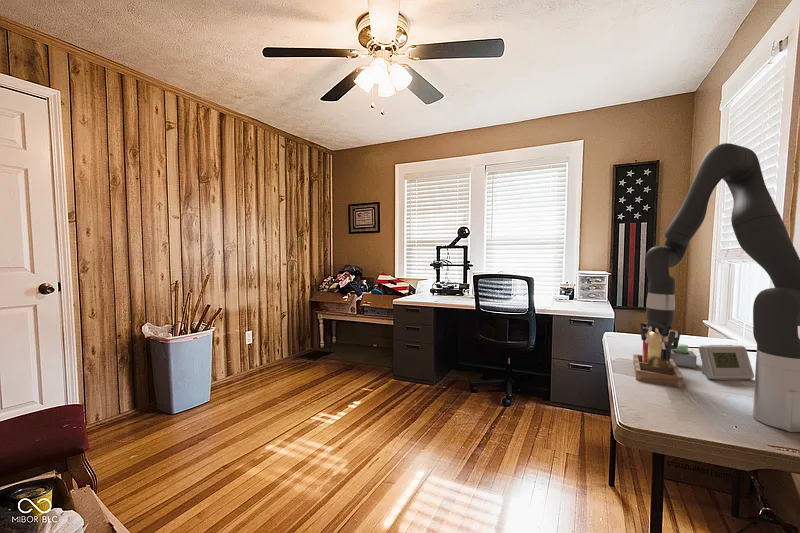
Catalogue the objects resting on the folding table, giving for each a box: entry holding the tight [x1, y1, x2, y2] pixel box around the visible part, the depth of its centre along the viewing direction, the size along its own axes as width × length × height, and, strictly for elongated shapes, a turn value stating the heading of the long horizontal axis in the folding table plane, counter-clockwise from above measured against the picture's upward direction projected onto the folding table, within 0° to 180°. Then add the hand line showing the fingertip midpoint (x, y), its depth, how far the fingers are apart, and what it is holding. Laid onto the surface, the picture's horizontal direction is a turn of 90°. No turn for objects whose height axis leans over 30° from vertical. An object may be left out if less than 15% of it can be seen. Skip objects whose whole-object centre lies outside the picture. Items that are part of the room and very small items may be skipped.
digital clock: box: [698, 344, 755, 381], centre depth 118 cm, size 16×9×11 cm, turn 82°
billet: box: [647, 331, 669, 368], centre depth 116 cm, size 6×6×11 cm
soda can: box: [642, 333, 648, 363], centre depth 125 cm, size 7×7×13 cm
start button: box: [674, 343, 689, 354], centre depth 132 cm, size 4×4×3 cm
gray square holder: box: [670, 349, 697, 369], centre depth 132 cm, size 8×8×4 cm
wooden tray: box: [632, 353, 684, 388], centre depth 121 cm, size 23×12×3 cm, turn 148°
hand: (657, 357), depth 116 cm, fingers closed on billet, 5 cm apart
